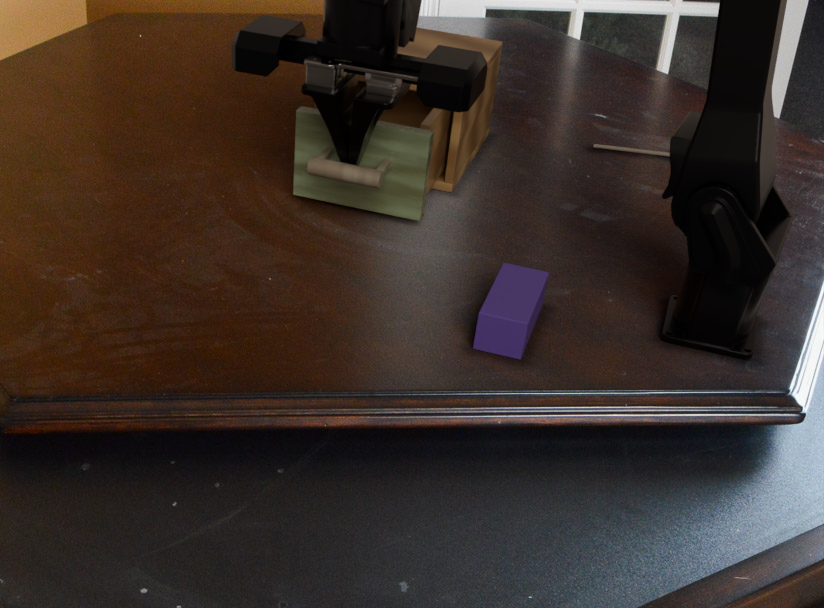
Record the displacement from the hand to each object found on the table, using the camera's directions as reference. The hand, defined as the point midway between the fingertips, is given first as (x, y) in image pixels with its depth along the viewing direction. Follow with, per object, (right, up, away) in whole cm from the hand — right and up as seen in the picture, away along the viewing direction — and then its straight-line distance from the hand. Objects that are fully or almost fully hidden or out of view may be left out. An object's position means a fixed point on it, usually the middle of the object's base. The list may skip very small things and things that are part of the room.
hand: (350, 170), depth 85 cm
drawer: (+2, +1, +8) cm, 8 cm away
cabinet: (+6, +7, +16) cm, 19 cm away
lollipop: (+32, +7, +19) cm, 37 cm away
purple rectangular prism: (+11, -14, -7) cm, 19 cm away
